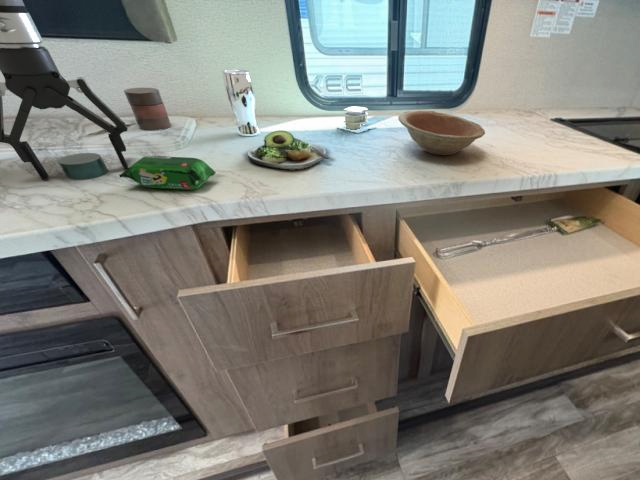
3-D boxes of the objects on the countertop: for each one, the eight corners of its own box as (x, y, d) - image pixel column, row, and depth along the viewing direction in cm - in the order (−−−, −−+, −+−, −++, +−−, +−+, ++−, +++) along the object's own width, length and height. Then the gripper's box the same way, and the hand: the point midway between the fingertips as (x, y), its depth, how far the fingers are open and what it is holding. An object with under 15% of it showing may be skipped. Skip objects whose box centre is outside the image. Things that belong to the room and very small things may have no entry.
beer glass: (231, 134, 95) (214, 71, 85) (246, 128, 100) (233, 68, 90) (251, 138, 93) (237, 74, 84) (266, 132, 99) (255, 71, 89)
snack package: (144, 177, 70) (132, 151, 67) (220, 179, 71) (212, 154, 68) (124, 191, 65) (110, 164, 61) (206, 194, 66) (197, 167, 62)
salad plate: (346, 155, 87) (345, 136, 84) (306, 178, 74) (303, 157, 71) (285, 142, 92) (282, 124, 89) (238, 162, 79) (233, 141, 76)
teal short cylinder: (57, 177, 68) (48, 161, 66) (88, 165, 73) (80, 151, 71) (87, 181, 67) (79, 166, 65) (116, 169, 72) (109, 155, 70)
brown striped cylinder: (131, 128, 94) (115, 91, 88) (153, 121, 100) (139, 86, 94) (158, 131, 93) (143, 94, 87) (178, 124, 99) (166, 89, 93)
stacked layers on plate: (358, 134, 102) (358, 114, 99) (335, 128, 105) (334, 109, 102) (376, 127, 109) (376, 108, 105) (354, 122, 112) (353, 104, 109)
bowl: (458, 172, 82) (464, 138, 77) (380, 151, 91) (380, 118, 86) (492, 150, 98) (499, 120, 93) (422, 133, 107) (425, 105, 102)
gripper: (-104, 46, 48) (3, 189, 62) (107, 48, 59) (158, 168, 73) (-87, 41, 53) (10, 176, 66) (106, 44, 64) (154, 158, 78)
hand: (87, 172), depth 70 cm, fingers open, 13 cm apart
